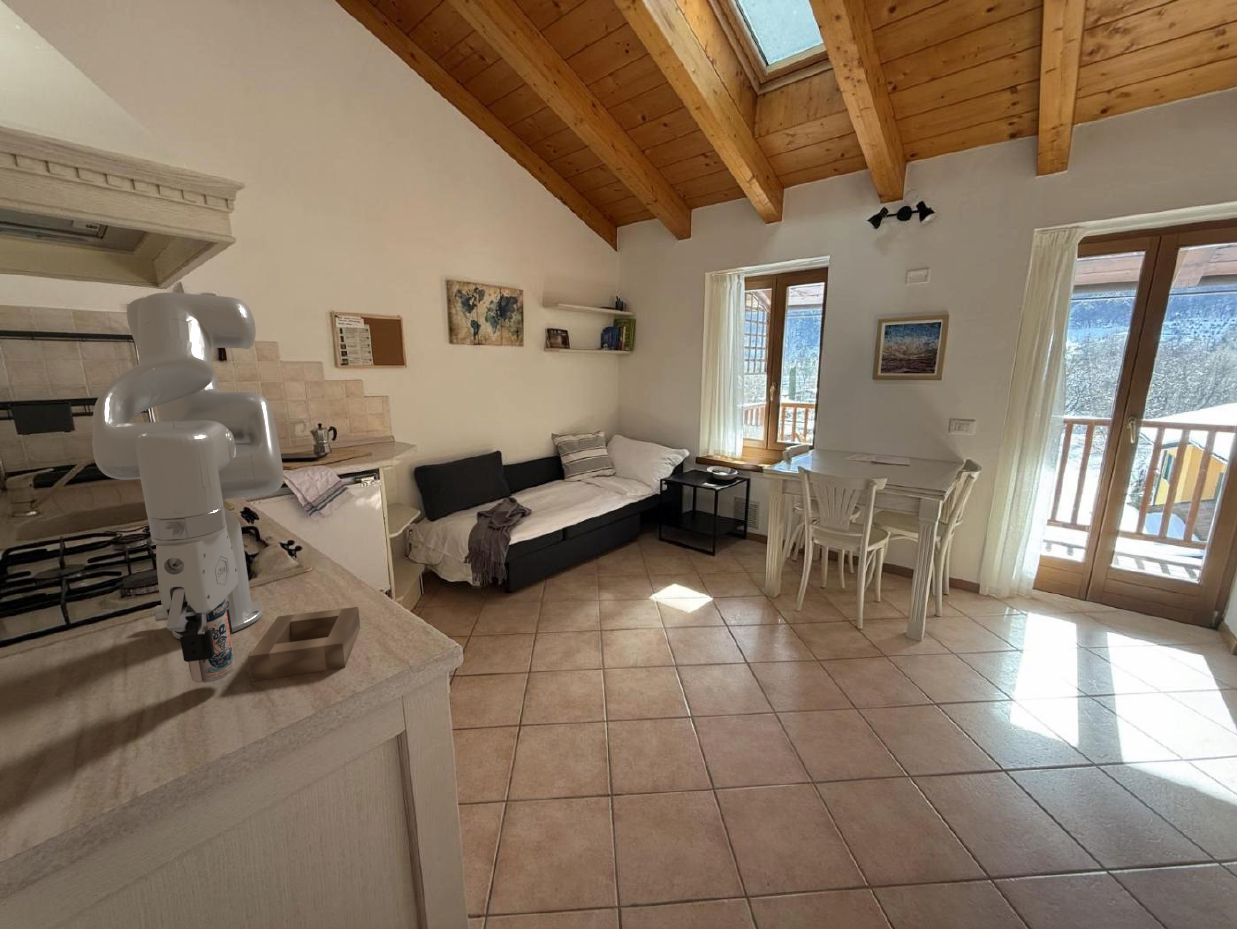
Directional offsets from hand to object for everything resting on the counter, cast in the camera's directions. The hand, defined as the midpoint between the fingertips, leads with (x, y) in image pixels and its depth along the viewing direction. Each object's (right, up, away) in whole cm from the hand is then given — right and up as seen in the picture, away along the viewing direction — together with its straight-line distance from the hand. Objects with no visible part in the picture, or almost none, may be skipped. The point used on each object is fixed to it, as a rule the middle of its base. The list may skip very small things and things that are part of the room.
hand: (209, 646), depth 68 cm
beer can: (0, -5, +1) cm, 5 cm away
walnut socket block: (+8, -5, +10) cm, 14 cm away
